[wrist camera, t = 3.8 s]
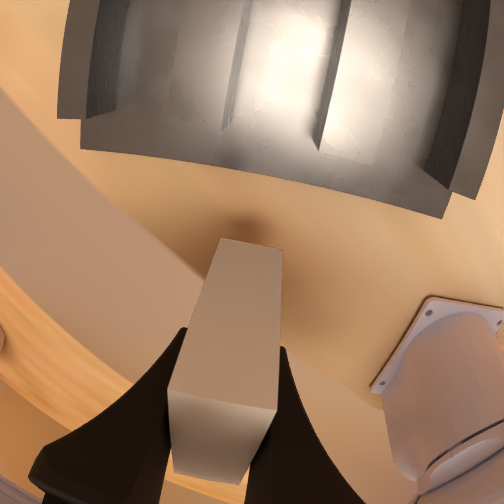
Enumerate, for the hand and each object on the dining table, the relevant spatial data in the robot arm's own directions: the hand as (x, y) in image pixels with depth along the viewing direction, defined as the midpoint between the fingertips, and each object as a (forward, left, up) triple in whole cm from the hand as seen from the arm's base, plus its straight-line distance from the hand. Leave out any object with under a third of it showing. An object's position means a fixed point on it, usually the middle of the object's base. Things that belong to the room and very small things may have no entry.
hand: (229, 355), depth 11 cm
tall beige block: (0, 0, -3) cm, 3 cm away
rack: (+13, 0, -7) cm, 15 cm away
